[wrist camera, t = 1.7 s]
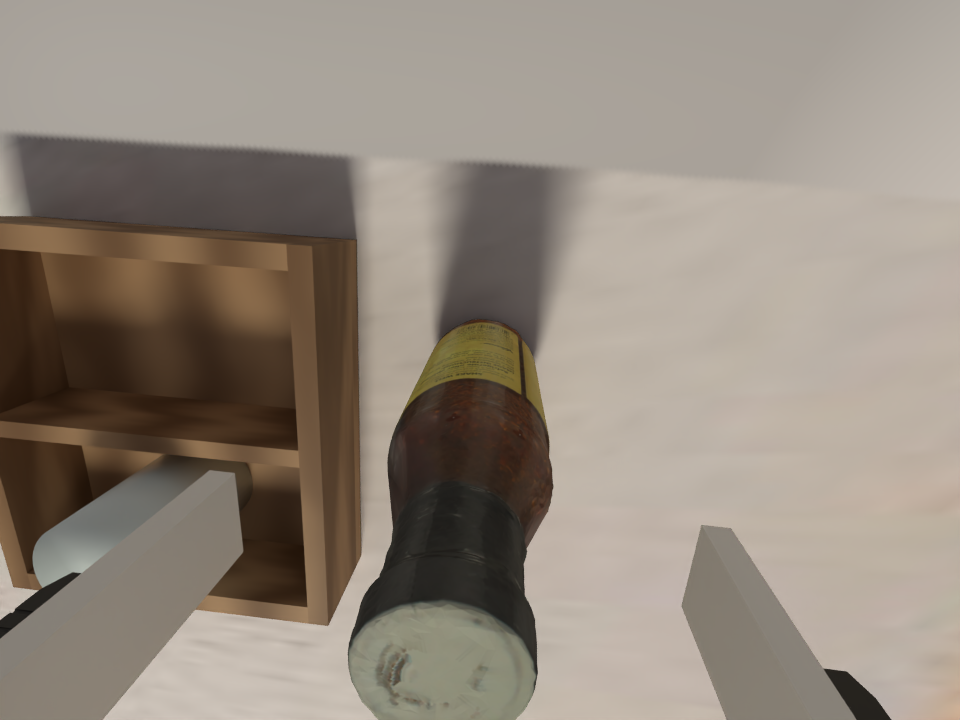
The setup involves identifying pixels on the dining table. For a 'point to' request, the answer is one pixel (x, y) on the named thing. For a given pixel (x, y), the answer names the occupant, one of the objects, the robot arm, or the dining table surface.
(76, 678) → the robot arm
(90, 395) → the caddy
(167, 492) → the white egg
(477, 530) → the sauce bottle
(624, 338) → the dining table surface
